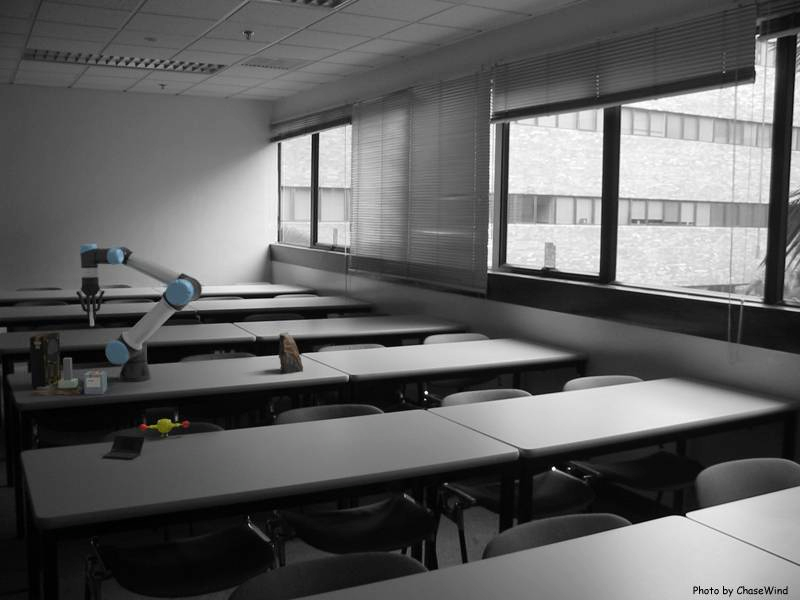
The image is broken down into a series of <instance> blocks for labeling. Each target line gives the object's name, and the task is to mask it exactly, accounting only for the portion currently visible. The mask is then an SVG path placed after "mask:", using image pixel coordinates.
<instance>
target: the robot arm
mask: <svg viewBox="0 0 800 600" xmlns="http://www.w3.org/2000/svg"><path fill="white" fill-rule="evenodd" d="M79 251H80V252H79V253H80V254H79V255H80V270H81V271H80V272H81V274H80V275H81V276H82V277H81V287H80V289H79V290H77V291H76V292H75V294H76V295H77V296H78V298H79V299H78V300H79V302H80V304H81V309H82V311H83V312H86V315H87V316H86V318H87V320H89V326H90V327H94V326H95V320H96V319H97V312H99V311H100V310H101V304H102V300H103V296H104V294H105V293H106V290H103V289H101V287H100V283H99V281H100V280H99V277H98V276H99V265H113V266H114V265H115V266H116V265H120V264H122V265H124V266H126V267H128V268H130V269H132V270H134V271H136V272H138V273H140V274H143V275H145V276H147V277H149V278H151V279H153V280H155V281H157V282H159V283H162V284H163V285H166V286H167V287H165V288H166V289H165V290H164V291H163V292H162V294H161V299H160V300H159V301H158V302H157V303H156V304H155V305H154V306H153V307H152V308H151V309H150V310H149V311H148V312H147V313H145V315H144V316H143V317H142V318H141V319H140V320H138V322H137V323H135V325H134V326H133V327H131V328H130V330H129V331H125V330H124V331H123V332H121V334H120V335H118V337H116V339H114V340H112V341H110V342H108V343H107V345H106V347H105V356H106V357H107V358H106V359H108V361H109V362H110V363H111V364H114V365H118V366H119V365H121V367H120V371H119V373H118V380H119V381H121V382H129V383H131V382H133V383H134V382H141V381H143V382H144V381H147V380H150V379H152V372H151V370H150V368H149V365H148V359H147V357H148V356H147V354H148V353H147V351H148V350H147V349H148V348H147V342H148V341H147V340H148V338H149V339H150V337H151V336H152V335H153V334H154V333H155V332H157V330H158V329H160V327H161V326H162V325H163V324H164V323H165V322H166V321H167V320H168V319H169V318H170V317H172V315H174V313H176V312H181V311H182V310H183V309H185V307H186V306H187V305H188V304H189V303H192V302H195V301H197V300H199V298H200V297H201V295H202V292H203V289H202V288H203V287H202V284H201V283H200V281H199V280H198V279H197V278H194V277H192V276H190V275H187V274H185V273H184V272H181V273H178V272H176V271H174V270H172V269H170V268H168V267H166V266H163V265H161V264H159V263H157V262H155V261H152V260H151V259H148V258H146V257H145V256H143V255H142V256H141V255H140V254H138V253H136V252H134V251H132V249H131V248H129V247H126V246H120V247H109V248H107V247H106V248H99V247H98V244H96V243H90V244H89V243H83V244H81V245H80V250H79ZM98 293H99V296H98V301H97V303H96V295H97V294H98ZM83 295H85V298H86V299H85V300H86V304H85V302H84V301H85V300H84V298H83V297H84V296H83ZM90 297H91V298H90ZM91 303H92V311H91Z"/></svg>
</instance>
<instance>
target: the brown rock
mask: <svg viewBox="0 0 800 600" xmlns="http://www.w3.org/2000/svg"><path fill="white" fill-rule="evenodd" d="M278 336H279V339H278V341H279V346H278V352H279V353H278V358H279V360H280V361H279V362H280V373H281V374H284V375H287V374H294V373H300V372H302V373H303V372H304V366H303V362H302V358H301V355H300V353H299V350H298V346H297V344H296V342H295V340H294V338H293V336H291V335H290V333H288V331H286V332H281V333H280V334H279V335H278Z"/></svg>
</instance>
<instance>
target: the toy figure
mask: <svg viewBox="0 0 800 600" xmlns="http://www.w3.org/2000/svg"><path fill="white" fill-rule="evenodd" d="M179 426H182V427H183V428H189V427H190V422H189V421H188V420H185V421H182V423H172V421H171V419H168V418H162V419H159V420H158V421H157V424H155V425H150V426H147V425H146V424H145V423H142V424H141V423H140V425H139V426H138V430H139V431H141V432H143V431H145V430H147V428H148V429H157V430H158V432H159V433H161V436H160V437H161V438H164V434H165V437H166V438H168V437H169V434H168V433H169V432H170V431H171V430H172V428H174V427H179Z"/></svg>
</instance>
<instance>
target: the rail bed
mask: <svg viewBox="0 0 800 600" xmlns="http://www.w3.org/2000/svg"><path fill="white" fill-rule="evenodd" d="M79 392H80V393H81V392H83V387H80V386H78V385H77V386H76V387H75V388H58V386H52V387H37V389H36V390H34V391H33V395H34V396H48V395H49V394H65V395H79V394H80V393H79ZM78 393H79V394H78Z"/></svg>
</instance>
